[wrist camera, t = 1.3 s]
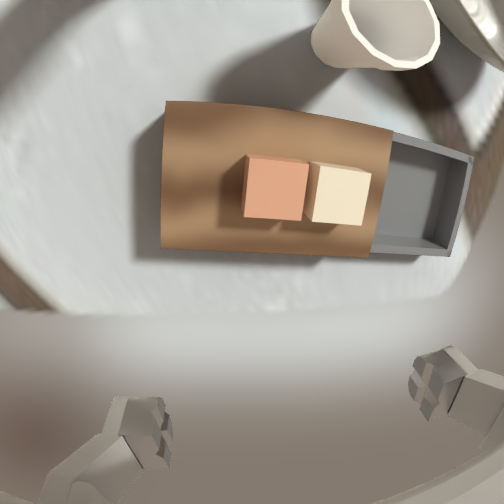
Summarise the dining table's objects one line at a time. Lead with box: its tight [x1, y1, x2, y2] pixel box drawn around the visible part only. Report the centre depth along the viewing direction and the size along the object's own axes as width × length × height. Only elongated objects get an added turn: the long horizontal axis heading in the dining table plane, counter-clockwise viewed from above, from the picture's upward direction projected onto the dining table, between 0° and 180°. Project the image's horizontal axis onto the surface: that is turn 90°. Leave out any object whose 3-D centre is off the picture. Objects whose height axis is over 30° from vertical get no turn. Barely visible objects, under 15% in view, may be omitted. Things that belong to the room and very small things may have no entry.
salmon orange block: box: [241, 154, 309, 221], centre depth 27 cm, size 5×5×3 cm
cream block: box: [303, 161, 371, 226], centre depth 28 cm, size 5×5×3 cm
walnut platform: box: [161, 101, 394, 258], centre depth 31 cm, size 14×22×6 cm, turn 84°
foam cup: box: [311, 0, 440, 71], centre depth 23 cm, size 10×9×13 cm
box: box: [370, 132, 474, 257], centre depth 35 cm, size 14×14×4 cm
